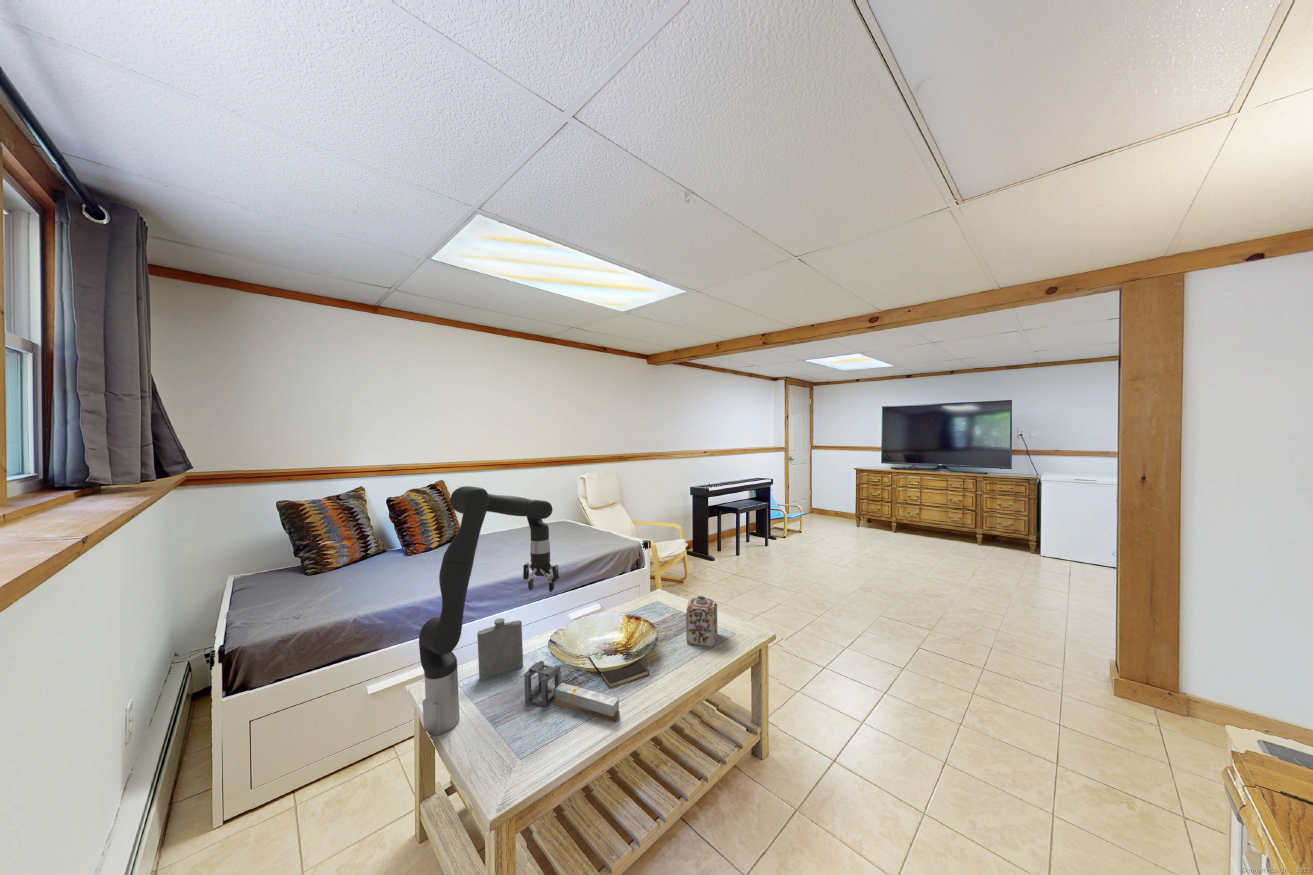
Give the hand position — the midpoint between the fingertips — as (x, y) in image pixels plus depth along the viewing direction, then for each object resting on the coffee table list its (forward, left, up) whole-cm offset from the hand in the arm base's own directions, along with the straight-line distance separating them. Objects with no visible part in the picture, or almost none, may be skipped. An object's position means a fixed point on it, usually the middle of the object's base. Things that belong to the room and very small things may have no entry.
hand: (541, 590), depth 167 cm
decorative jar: (+37, -55, -28) cm, 72 cm away
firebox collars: (-20, -16, -27) cm, 37 cm away
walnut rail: (-20, -33, -27) cm, 47 cm away
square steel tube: (-20, -33, -25) cm, 46 cm away
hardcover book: (+6, -30, -28) cm, 42 cm away
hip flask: (-14, +9, -28) cm, 32 cm away
